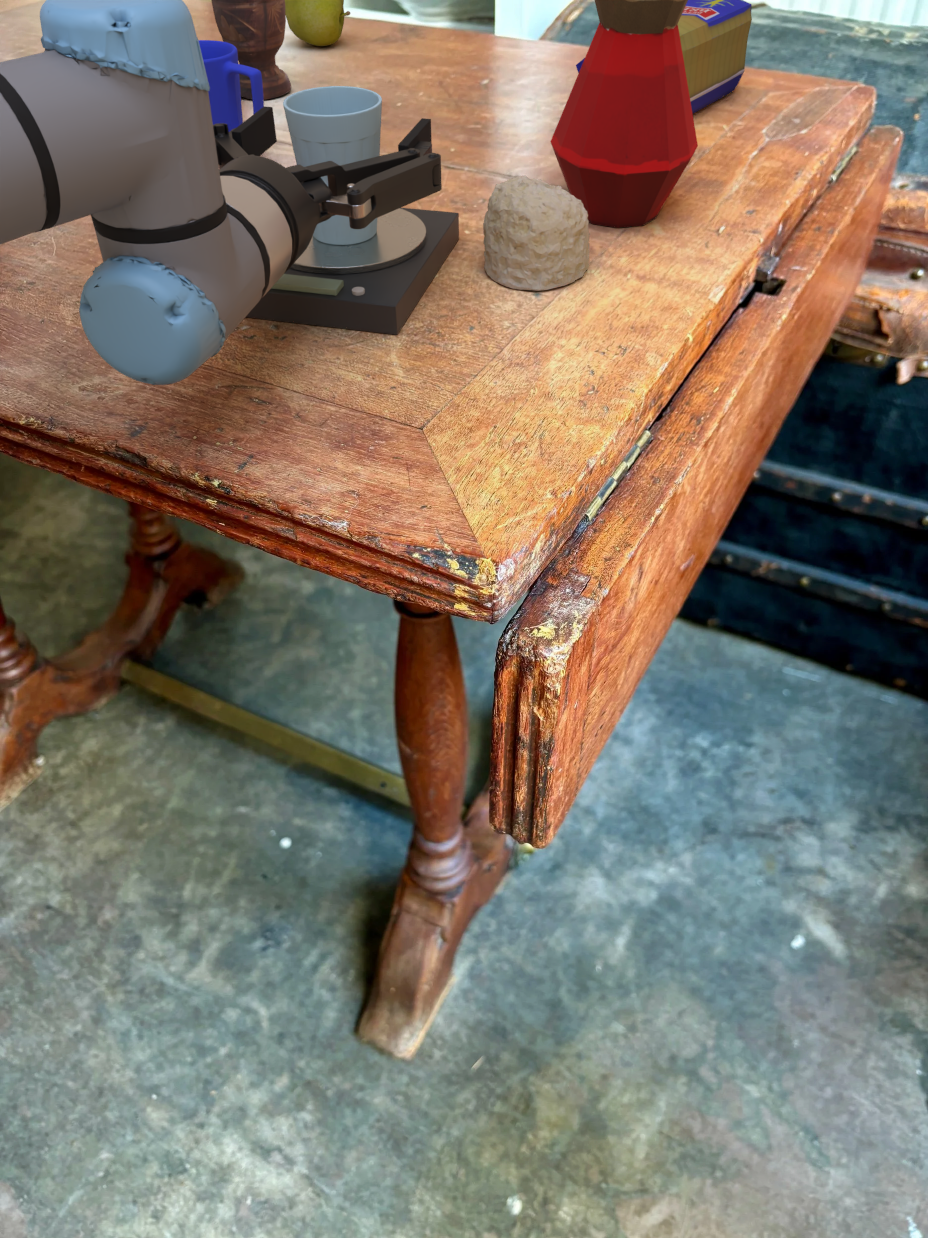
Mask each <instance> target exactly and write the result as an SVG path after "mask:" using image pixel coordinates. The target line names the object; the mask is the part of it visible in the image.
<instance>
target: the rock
mask: <svg viewBox="0 0 928 1238" xmlns="http://www.w3.org/2000/svg"><path fill="white" fill-rule="evenodd" d="M587 217H588V213H587V211H586V210H585V208H584V206H583V203H582V202H581V200H579V199H577V198H575V197H574V196H573V195H571V194H570V192H569V191H567V190H566V189H563V187H562V186H561V185H551V184H549V183H548V182H546V181H543V180H542V179H538V178H533V179H530V178H529V177H528V176H527V175H525V174H524V175H518V176H515V177H513V178H509V179H507V180H505V181H504V182H500V183H496V184H495V186H494V189H493V190H492V193H491V195H490V196H489V198H488V201H487V210H486V212H485V214H484V217H483V223H482V230H483V246H484V251H483V256H484V265H483V269H484V270H485V272H486V275H487V276H488V277H489V278H490V279H491V280H492V281H494V282H496V283H497V284H500V285H502V286H503V287H507V288H510V289H513V290H521V291H536V292H539V291H547V290H552V289H556V288H560V287H564V286H567V285H569V284H572V283H574V282H576V281H577V280H578V279H580V278H582V277H584V276H583V275H585V273H586V272H587V271H588V269H589V267H590V237H591V233H590V229H589V225H590V222H589V221H588V218H587ZM586 270H587V271H586ZM575 280H576V281H575Z"/></svg>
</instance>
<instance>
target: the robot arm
mask: <svg viewBox="0 0 928 1238" xmlns="http://www.w3.org/2000/svg"><path fill="white" fill-rule="evenodd" d="M39 22H40V27H41V35H42V36H41V38H40V43H41V45H42V48H43V49H44V51H42V52H39V53H35V54H34V53H33V54H31V55H30V54H29V55H26V56H21V57H17V58H12V59H8V60H4V61H0V245H3V244H5V243H8V242H11V241H14V240H18V239H20V238H22V237H25V236H28V235H31V234H35V233H39V232H42V231H45V230H48V229H52V228H55V227H58V226H61V225H64V224H67V223H70V222H73V221H76V220H80V219H82V218H86V217H89V216H90V217H91V221H92V225H93V228H94V233H95V235H96V240H97V243H98V246H99V247H98V248H99V250H100V254H101V258H102V262H101V263H100V264H99V265H97V266H95V267H94V269H93V270H92V275H90V276H89V278H88V279H87V280H86V282H84V284H83V287H82V290H81V294H80V300H79V307H78V311H79V313H78V314H79V318H80V323H81V327H82V330H83V332H84V334H85V336H86V338H87V340H88V341H89V343H90V344H91V346H92V347H93V349H94V350H95V352H97V354H98V355H99V357H100V358H102V359H103V361H105V363H107V364H108V366H110V367H111V368H113V369H114V370H115V371H117V372H118V373H119V374H121V375H123V376H125V377H127V378H129V379H130V380H134V381H136V382H140V383H144V384H149V385H152V386H168V385H173V384H177V383H179V382H181V381H183V380H185V379H187V378H188V377H190V376H191V375H192V374H193V373H194V372H196V371H197V370H198V369H199V368H200V367H201V366H203V364H205V363H206V362H207V361H208V360H209V359H211V358H213V357H215V356H217V354H219V352H220V351H221V350H222V347H224V345H225V342H226V340H228V338H229V337H230V336H231V335H232V334H233V332H234V331H235V330H236V329H237V328H238V326H239V325H240V324H241V323H242V322H243V321H244V320H245V319H246V318H247V317H246V316H247V315H248V314H249V312H250V311H251V310H252V309H253V308H254V307H255V305H256V304H257V303H258V302H259V301H260V300H261V298H262V297H264V295H265V294H266V293H267V292H268V291H269V290H270V289H271V288H272V287H273V285H274V284H275V283H276V282H277V281H278V280H279V279H280V278H281V276H282V275H283V274H284V273H285V272H286V271H287V270H288V269H289V268H290V267H291V266H292V265H293V264H294V263H295V261H296V260H297V259H298V258H299V257H300V256H301V255H302V254H303V253H304V251H305V250H306V249H307V247H308V245H309V243H310V241H311V239H312V236H313V234H314V231H315V228H316V226H317V224H319V223H321V222H324V221H326V220H328V219H330V218H331V217H332V216H335V215H340V216H347V217H349V223H350V228H352V229H363V228H365V227H367V226H368V225H369V224H370V223H371V222H372V221H373V220H374V219H376V218H378V217H380V216H382V215H385V214H387V213H389V212H392V211H394V210H396V209H399V208H404V207H405V206H409V205H410V204H413V203H415V202H417V201H420V200H422V199H424V198H427V197H429V196H431V195H433V194H436V193H439V192H441V191H442V155H441V154H440V153H436V152H433V143H432V118H424V117H423V118H421V119H420V120H419V121H418V122H417V123H416V124H415V125H414V126H413V128H412V129H411V130H410V131H409V132H408V133H407V134H406V135H405V136H404V138H403V139H402V140H401V141H400V142H399V143H398V144H397V151H394V152H389V153H385V154H383V155H380V156H378V157H373V158H369V159H365V160H361V161H357V162H353V163H349V164H345V165H341V166H340V165H338V164H336V163H335V162H333V161H327V162H322V163H318V164H314V165H310V166H306V167H304V166H302V165H297V164H294V165H291V166H287V167H285V166H283V165H282V164H280V163H279V162H277V161H275V160H273V159H271V158H269V157H265V156H262V155H263V154H264V153H266V152H267V151H268V150H269V149H270V148H271V147H273V145H275V144H276V143H277V142H278V139H277V131H276V126H275V116H274V110H273V106H265V105H264V107H263V108H261V109H260V110H259V111H257V112H256V113H255V114H254V115H253V114H252V115H251V116H250V117H248V118H246V120H244V121H243V123H242V124H241V125H239V126H238V127H237V128H234V129H232V130H231V131H230V132H229V131H228V124H225V123H218V124H214V125H213V122H212V115H211V108H210V100H209V93H208V91H210V86H209V83H208V79H207V75H206V70H205V66H204V62H203V58H202V53H201V49H200V45H199V41H198V40H199V37H198V36H197V31H196V28H195V24H194V20H193V17H192V14H191V11H190V9H189V7H188V6H187V4H186V3H185V2H184V0H45V1H44V2H43V3H42V5H41V7H40V10H39ZM323 176H327V177H328V186H327V185H326V184H325V182H324V181H323V180H322V179H321V177H323Z"/></svg>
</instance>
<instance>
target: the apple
mask: <svg viewBox="0 0 928 1238" xmlns="http://www.w3.org/2000/svg"><path fill="white" fill-rule="evenodd" d="M344 4H345V0H285V15H286V23H287V25H288V28H289V30H290V31H291V33H292V34H293V35H294V36H296V37H297V38H298V39H299V40H301V41H303V42H305V43H306V44H309V45H312V46H315V47H328V46H331V45H333V44H335V43H337V42H338V41H339V39H341V36H342V33H343V29H344V24H345V17H347V16H350V15H351V12H350V11H349V10H347V11H346V12H345V8H344Z"/></svg>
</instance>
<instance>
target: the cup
mask: <svg viewBox="0 0 928 1238" xmlns="http://www.w3.org/2000/svg"><path fill="white" fill-rule="evenodd" d="M282 106H283V111H284V115H285V120H286V124H287V128H288V132H289V136H290V141H291V144H292V145H291V146H292V150H293V155H294V159H295V163H296V164H295V165H302V166H304V167H306V166H310V165H314V164H318V163H322V162H327V161H333V162H335V163H336V164H338V165H340V166H341V165H345V164H349V163H353V162H357V161H361V160H365V159H369V158H373V157H378V156H381V132H382V131H381V129H382V115H383V114H382V113H383V112H382V111H383V99H382V96H381V95H380V94H379V93H378V92H376V91H374V90H371V89H368V88H363V87H358V86H351V85H350V86H349V85H330V86H317V87H312V88H311V87H310V88H306V89H303V90H299V91H296V92H293V93H291V94H290V95H288V96H286V97H285V98H284V100H283V102H282ZM321 179H322V180H323V181H324V182H325V184H326V185H327V186H328V177H327V176H323V177H321ZM376 232H377V218H376V219H374V220H373V221H372V222H371V223H370V224H369V225H368V226H367V227H365V228H363V229H352V228H350V223H349V217H347V216H340V215H335V216H332V217H331V218H330V219H328V220H326V221H324V222H321V223H319V224H317V226H316V228H315V231H314V234H313V236H314V238H316V239H317V240H318V241H320V242H323V243H327V244H333V245H351V244H356V243H361V242H364V241H366V240H368V239H370V238H372V237H373V236H374V235H375V234H376Z"/></svg>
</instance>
